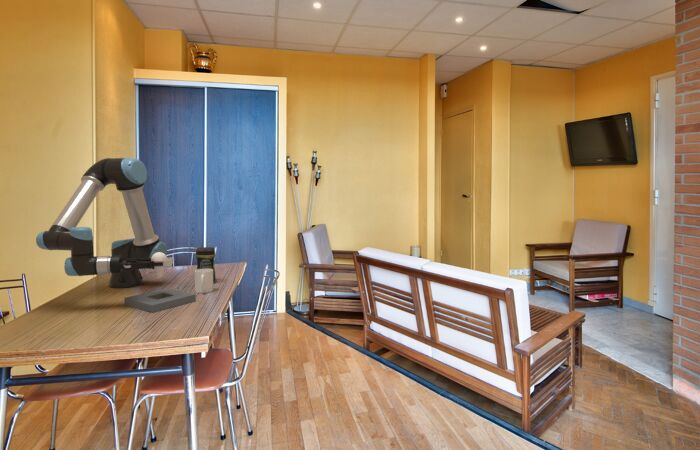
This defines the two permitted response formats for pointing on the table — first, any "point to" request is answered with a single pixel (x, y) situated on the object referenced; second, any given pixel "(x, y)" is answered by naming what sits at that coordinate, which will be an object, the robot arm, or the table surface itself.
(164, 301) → the socket plate
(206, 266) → the coffee jar
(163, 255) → the lightbulb
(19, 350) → the table surface
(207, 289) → the cup
